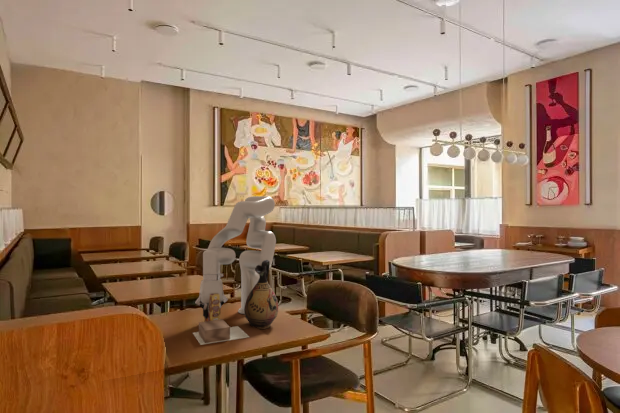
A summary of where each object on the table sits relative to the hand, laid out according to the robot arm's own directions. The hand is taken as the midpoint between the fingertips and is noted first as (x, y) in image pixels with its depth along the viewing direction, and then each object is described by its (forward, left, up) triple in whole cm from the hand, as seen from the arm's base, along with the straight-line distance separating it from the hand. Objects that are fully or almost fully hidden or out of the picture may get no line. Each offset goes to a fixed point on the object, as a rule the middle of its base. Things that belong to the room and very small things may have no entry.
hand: (211, 316), depth 181 cm
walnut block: (+3, +17, -3) cm, 18 cm away
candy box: (0, 0, -5) cm, 5 cm away
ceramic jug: (-21, +9, -5) cm, 23 cm away
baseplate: (0, +16, -4) cm, 17 cm away
